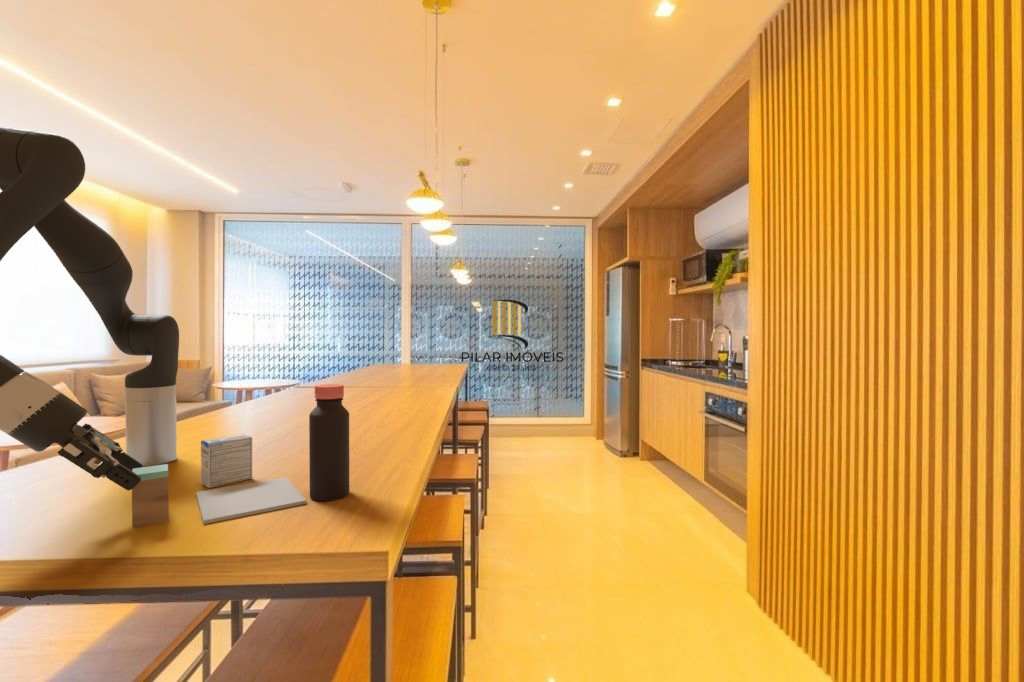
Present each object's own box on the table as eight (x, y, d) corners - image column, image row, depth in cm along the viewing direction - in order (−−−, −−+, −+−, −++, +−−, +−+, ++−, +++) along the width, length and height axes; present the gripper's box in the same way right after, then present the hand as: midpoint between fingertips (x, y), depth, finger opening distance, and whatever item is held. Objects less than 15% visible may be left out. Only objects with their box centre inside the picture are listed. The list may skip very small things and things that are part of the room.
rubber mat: (196, 495, 87) (196, 492, 87) (286, 480, 96) (286, 477, 96) (203, 524, 74) (203, 520, 74) (306, 503, 83) (306, 500, 83)
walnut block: (133, 518, 76) (132, 468, 76) (168, 512, 79) (167, 463, 79) (132, 528, 72) (131, 475, 72) (168, 521, 75) (168, 470, 75)
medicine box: (243, 474, 99) (243, 433, 99) (253, 479, 96) (252, 436, 96) (200, 484, 93) (200, 439, 93) (209, 489, 90) (208, 443, 90)
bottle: (300, 499, 85) (300, 386, 85) (327, 487, 91) (327, 382, 91) (331, 503, 83) (331, 388, 82) (357, 491, 89) (357, 384, 89)
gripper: (49, 396, 63) (158, 468, 70) (65, 386, 75) (158, 449, 82) (-9, 442, 60) (111, 512, 67) (18, 424, 72) (118, 485, 79)
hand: (137, 477), depth 74 cm, fingers open, 8 cm apart
